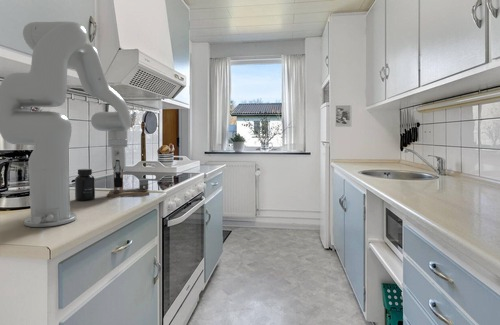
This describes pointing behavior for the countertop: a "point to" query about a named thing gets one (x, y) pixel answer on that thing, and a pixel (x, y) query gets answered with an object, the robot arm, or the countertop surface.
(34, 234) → the countertop surface
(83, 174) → the supplement bottle
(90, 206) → the countertop surface
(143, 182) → the gauge board
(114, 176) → the sliding leg
